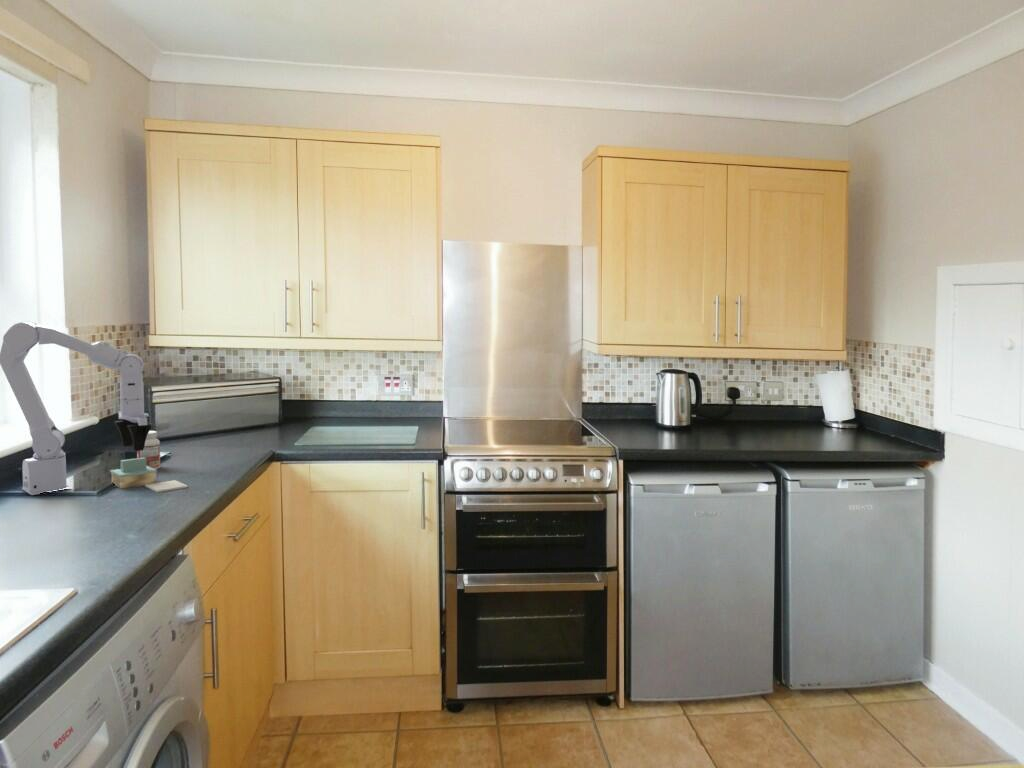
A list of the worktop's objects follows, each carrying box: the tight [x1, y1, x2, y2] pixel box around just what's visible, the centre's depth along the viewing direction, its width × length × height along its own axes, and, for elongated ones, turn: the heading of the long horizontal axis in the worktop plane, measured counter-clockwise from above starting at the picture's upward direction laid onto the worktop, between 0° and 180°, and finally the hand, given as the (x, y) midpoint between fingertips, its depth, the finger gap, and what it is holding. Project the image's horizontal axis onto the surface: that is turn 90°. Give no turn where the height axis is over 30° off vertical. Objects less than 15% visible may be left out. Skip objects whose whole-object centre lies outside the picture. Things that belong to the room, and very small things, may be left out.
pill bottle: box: [136, 430, 161, 470], centre depth 219 cm, size 6×6×11 cm
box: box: [111, 472, 157, 490], centre depth 202 cm, size 9×7×3 cm
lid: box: [109, 457, 158, 477], centre depth 201 cm, size 9×7×4 cm
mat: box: [144, 479, 189, 493], centre depth 200 cm, size 8×8×1 cm
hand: (133, 448), depth 201 cm, fingers open, 7 cm apart
